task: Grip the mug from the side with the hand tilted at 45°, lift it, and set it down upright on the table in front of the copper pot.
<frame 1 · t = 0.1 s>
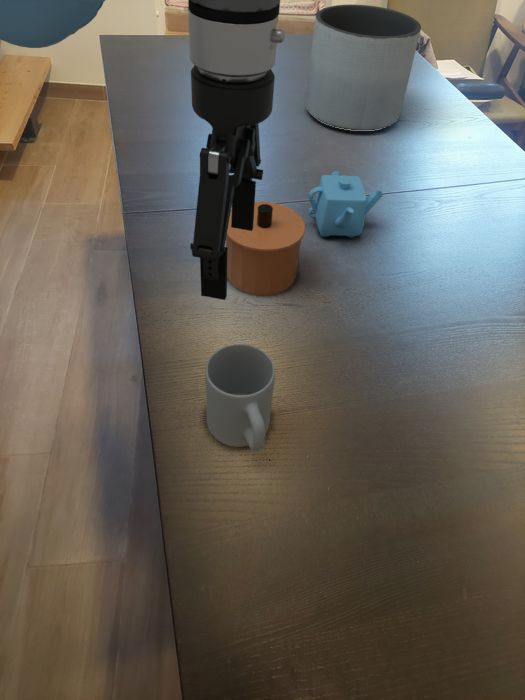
hand: (229, 259, 61), 20 cm above the table, tool pointing down, fingers open, 13 cm apart
pot lid: (264, 226, 83), point 9 cm above the table, touching pot
planter: (350, 114, 137), on the table
teapot: (339, 228, 101), on the table
mug: (242, 431, 68), on the table
pot: (260, 272, 90), on the table
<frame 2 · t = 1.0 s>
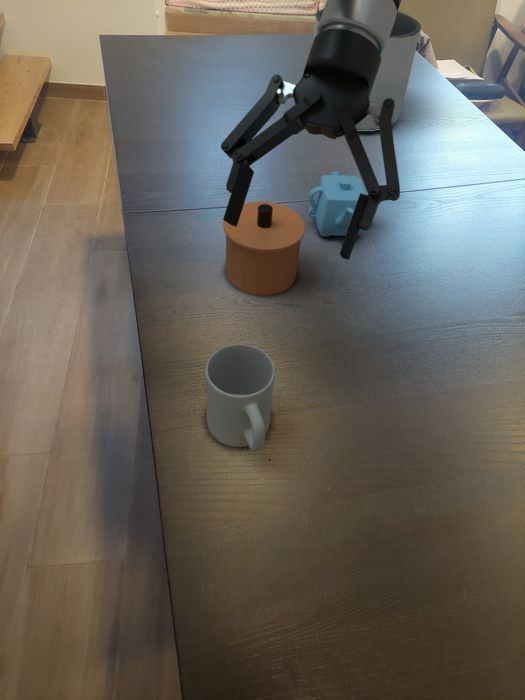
hand: (285, 240, 56), 25 cm above the table, tool tilted 45°, fingers open, 13 cm apart
nothing on the table moved.
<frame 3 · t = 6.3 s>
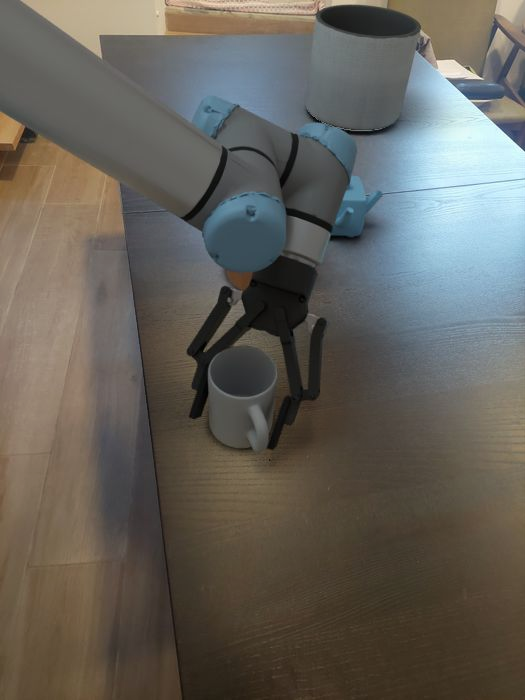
hand: (232, 431, 63), 4 cm above the table, tool tilted 45°, fingers closed on mug, 10 cm apart
mug: (245, 432, 68), on the table, touching gripper
everything else where it was.
when the fingers open (4 cm above the table, at t = 15.8 s): mug stays where it is, on the table.
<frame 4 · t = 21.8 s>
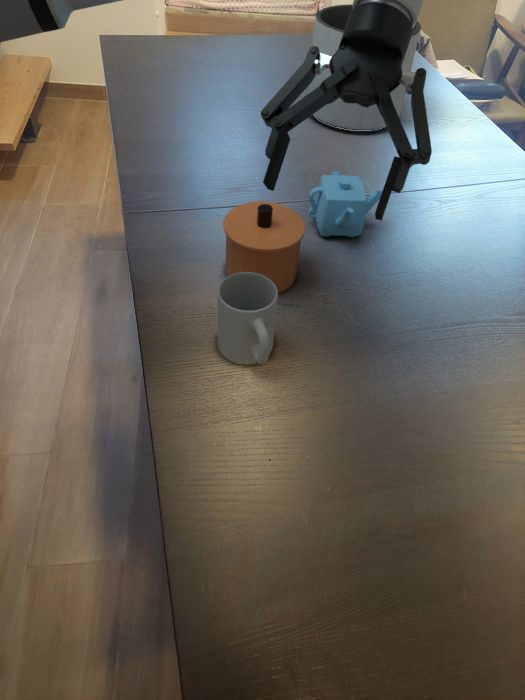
hand: (321, 201, 60), 26 cm above the table, tool tilted 45°, fingers open, 13 cm apart
mug: (249, 353, 78), on the table
everything else where it was.
at the end: mug inside the target area on the table beside the pot (0.5 cm from its centre), on the table; mug tilted 0° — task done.
